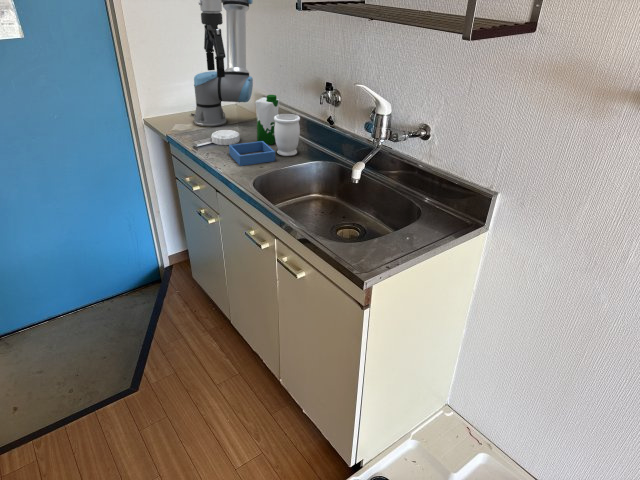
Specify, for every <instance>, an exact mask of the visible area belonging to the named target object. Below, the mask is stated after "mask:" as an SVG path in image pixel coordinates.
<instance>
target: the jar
mask: <svg viewBox="0 0 640 480" xmlns="http://www.w3.org/2000/svg"><path fill="white" fill-rule="evenodd" d="M274 120H275V121H276V122H275V127H274V135H275V141H276V142H275V146H276V148H277V150H276V153H277V155H278V156H279V155H280V156H282V157H291V156H292V157H293V156H295V155H297V154H298V150H297V148H298V145H299V141H300V136H301V130H300V129H301V127H300V120H301V117H300V116H299V115H298V114H293V113H280V114H278V115H276V116H275V117H274Z"/></svg>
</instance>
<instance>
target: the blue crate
mask: <svg viewBox="0 0 640 480" xmlns="http://www.w3.org/2000/svg"><path fill="white" fill-rule="evenodd" d="M228 150H229V151H228V154H229V156H230V157H231V158H232V159H233V160H234V161H235V163H237V165H238V166H240V167H242V166H249V165H250V166H251V165H255V164H263V163H271V162H275V161H276V150H274V149H273V148H272V147H271V146H269V144H266V143H265V142H264V141H259V142H257V141H251V142H243V143H242V142H241V143H236V144H232V145H228Z"/></svg>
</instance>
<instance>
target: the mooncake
mask: <svg viewBox="0 0 640 480" xmlns="http://www.w3.org/2000/svg"><path fill="white" fill-rule="evenodd" d="M210 135H211V142H212V143H213V144H214V145H217V146H229V145H234V144H239V142H240V140H241V139H240V136H241V135H240V133H239V132H238V131H237V130H233V129H219V130H216V131H213V132H212V134H210Z"/></svg>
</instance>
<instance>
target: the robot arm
mask: <svg viewBox="0 0 640 480" xmlns="http://www.w3.org/2000/svg"><path fill="white" fill-rule="evenodd" d="M253 2H254V1H253V0H199V1H198V5H199V7H200V21H201V24H202V25H203V28H204V41H203V49H204V51H205V57H206V67H207V68H206V69H207V71H203V72H200V73H197V74H195V75H194V77H193V88H194V96H195V104H196V107H195V112H194V113H190V115H191V116H193V123H194V125H196V126H198V127H203V128H214V127H216V128H217V127H220V126H224V125H225V124H227V117H226V114H225V112H224V110H223V107H222V102H224V103H227V102H228V103H239V104H240V103H248V102H249V101H250V100H251V98H252V94H253V85H254V78H253V77H252V76H251V75H250V71H249V70H248V69H247V35H246V34H247V25H246V24H247V22H246V21H247V19H246V15H247V12H248V10H250V5H252V4H253ZM223 9H224V10H225V13H226V14H225V15H226V52H225V47H224V41H223V35H222V28H219V26H221V25H223V14H222V12H223ZM214 52H215V53H214ZM214 54H215V55H214ZM225 58H226V68H225ZM215 65H216V66H215ZM215 67H216V68H215Z"/></svg>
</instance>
